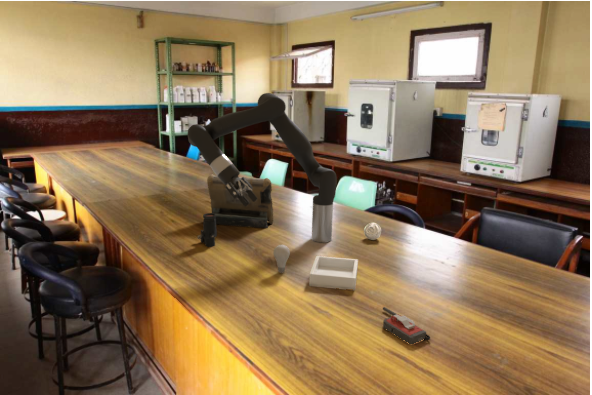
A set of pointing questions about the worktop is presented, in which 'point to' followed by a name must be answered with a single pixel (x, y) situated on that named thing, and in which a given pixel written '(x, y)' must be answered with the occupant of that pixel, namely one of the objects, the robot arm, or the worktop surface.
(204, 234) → the scope
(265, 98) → the robot arm
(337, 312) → the worktop surface
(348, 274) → the tray
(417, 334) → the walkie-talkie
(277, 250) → the lightbulb
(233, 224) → the tablet
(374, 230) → the white textured ball
